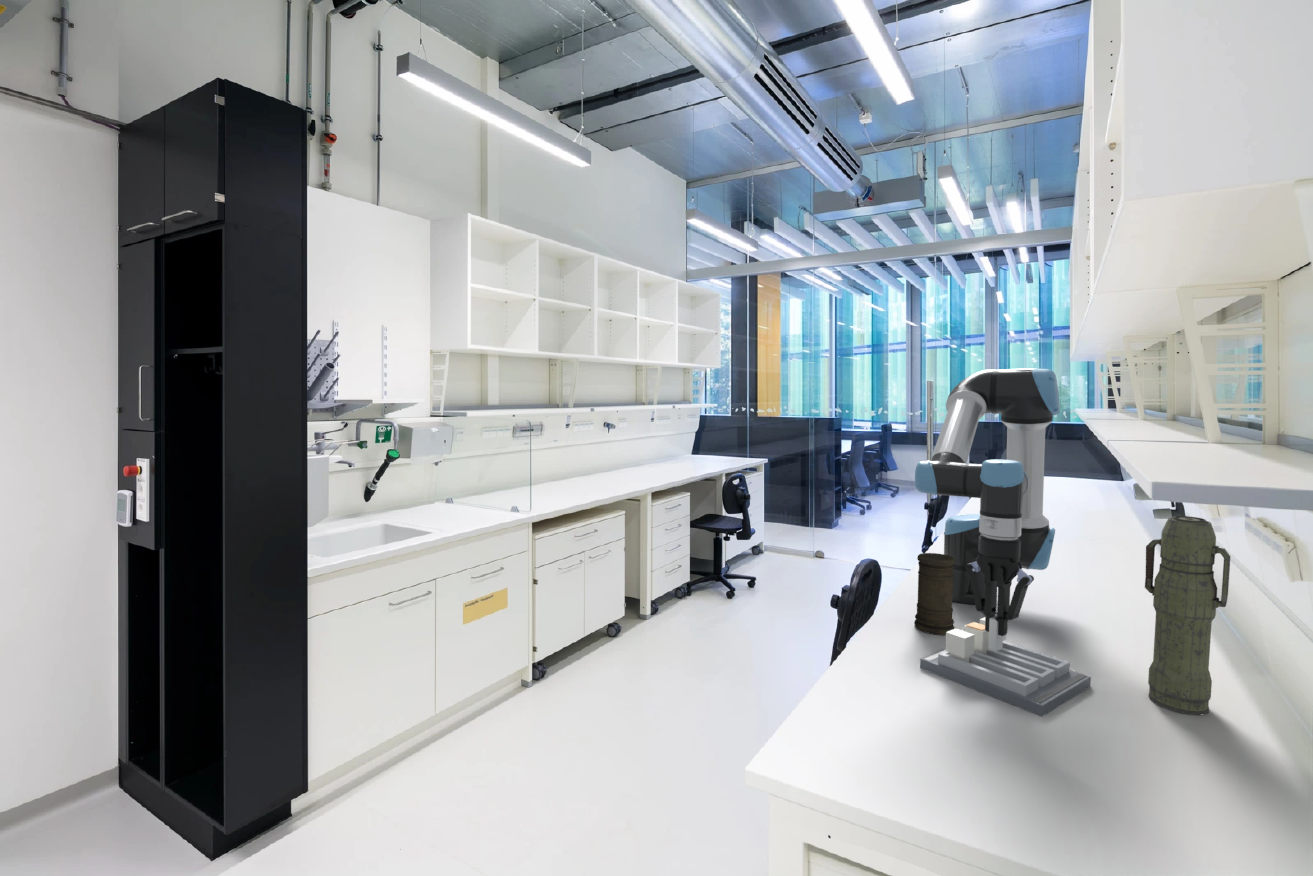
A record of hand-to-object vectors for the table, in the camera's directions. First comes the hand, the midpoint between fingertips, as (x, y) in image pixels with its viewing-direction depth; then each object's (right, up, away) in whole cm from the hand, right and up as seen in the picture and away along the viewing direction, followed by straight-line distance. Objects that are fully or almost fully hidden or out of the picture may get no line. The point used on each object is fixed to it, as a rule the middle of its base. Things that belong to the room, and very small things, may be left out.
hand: (995, 648), depth 128 cm
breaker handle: (-2, -3, +3) cm, 5 cm away
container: (-1, -4, +25) cm, 26 cm away
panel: (+1, -5, -1) cm, 6 cm away
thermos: (+28, -6, -12) cm, 31 cm away
